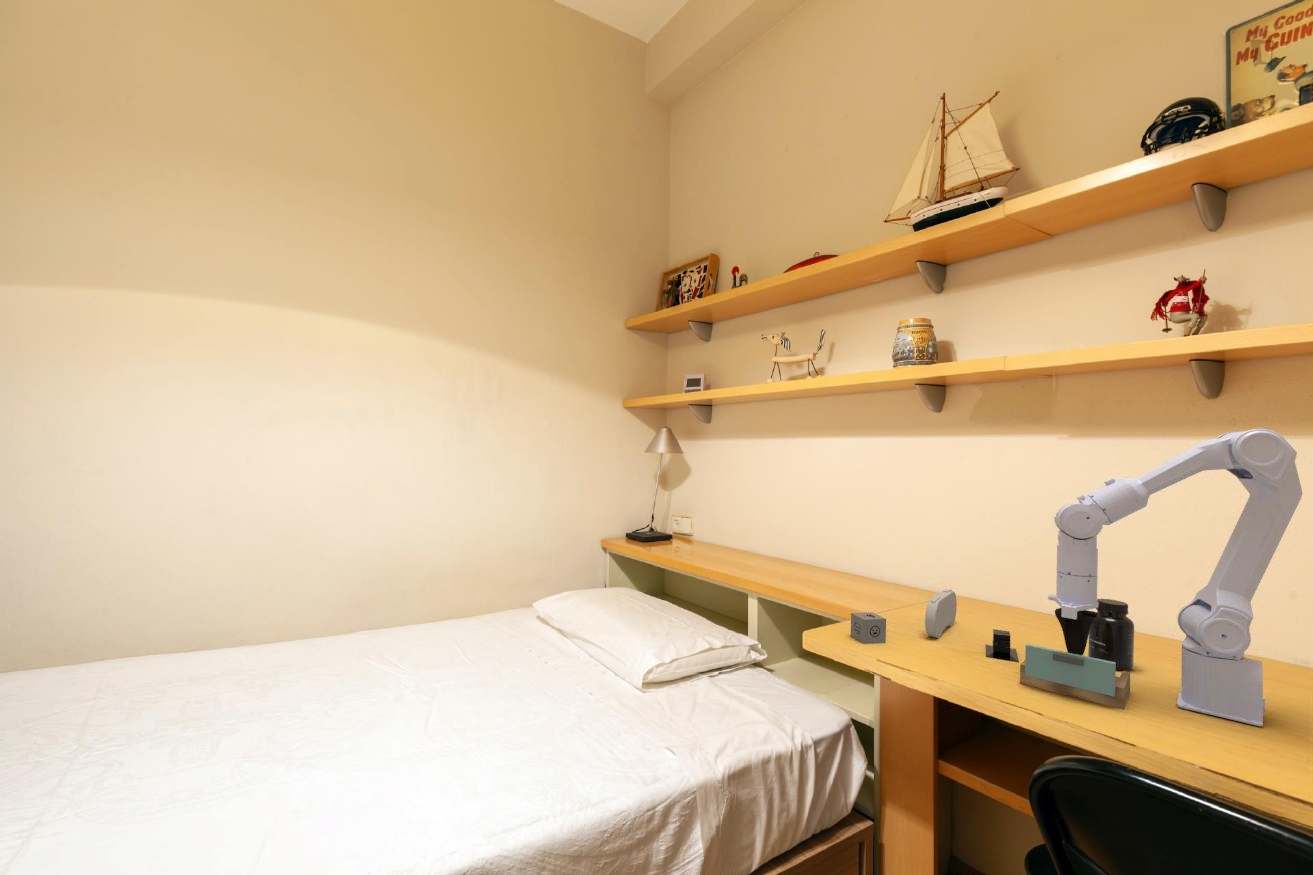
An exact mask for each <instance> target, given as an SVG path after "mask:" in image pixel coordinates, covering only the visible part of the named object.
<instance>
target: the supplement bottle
mask: <svg viewBox="0 0 1313 875" xmlns="http://www.w3.org/2000/svg"><path fill="white" fill-rule="evenodd" d="M1097 602H1098V603H1099V607H1098V608H1095V610H1097V611H1096V612H1097V613H1098V616H1097V617H1096V619H1095V621H1094V622H1093V624H1092V626H1091V629H1090V632H1089V635H1088V649H1087V650H1088V652H1087V654H1088V656H1087V657H1092V658H1097V659H1101V660H1106V661H1111V662H1116V671H1119V672H1122V671H1126V672H1130V671H1131V670H1132V669H1133V668H1134V658H1135V657H1134V652H1135V650H1134V649H1135V623H1134V621H1133V620H1132V619H1130V618H1129V617H1128V615H1129V604H1128V603H1127V602H1124V601H1121V600H1116V599H1110V598H1109V599H1108V598H1097Z"/></svg>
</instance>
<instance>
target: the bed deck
mask: <svg viewBox="0 0 1313 875" xmlns="http://www.w3.org/2000/svg"><path fill="white" fill-rule="evenodd" d="M1019 666H1020V667H1019V669H1020V671H1019V684H1021V685H1025V686H1028V687H1033V688H1037V689H1039V690H1040V689H1041V690H1044V691H1045V690H1046V691H1050V692H1052V693H1058V694H1062V695H1065V696H1068V697H1074V698H1077V699H1081V700H1085V701H1089V702H1092V703H1097V704H1100V705H1105V706H1109V707H1113V708H1116V709H1117V708H1118V709H1122V710H1124V709H1125V707H1126V703H1127V700H1128V698H1129V696H1130V693H1131V672H1130V671H1121V674H1120V675H1119V676H1116V677H1115V697H1114V696H1110V695H1106V694H1102V693H1097V692H1093V691H1089V690H1085V689H1081V688H1077V687H1072V686H1068V685H1064V684H1060V683H1056V682H1052V681H1047V680H1043V679H1039V678H1035V677H1031V676H1027V675H1025V659H1024V660H1023V661H1022V662H1021V663H1020V665H1019Z"/></svg>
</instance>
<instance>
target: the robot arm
mask: <svg viewBox="0 0 1313 875" xmlns="http://www.w3.org/2000/svg"><path fill="white" fill-rule="evenodd" d="M1297 454H1298V452H1297V450H1296V449H1295V448H1294V447H1293V446H1292V445H1291V444H1290V443H1289V442H1288V440H1286V438H1285V437H1284V436H1282V435H1281V434H1280V433H1278V432H1276V431H1275V430H1272V429H1266V428H1252V429H1249V430H1243V431H1239V430H1235V431H1228V432H1225V433H1222V434H1220V435H1219V436H1217V437H1216V438H1211V439H1209V440H1205V441H1203V442H1201V443H1199V444H1196V445H1194V446H1191V447H1189V448H1188V449H1186V450H1184V451H1183V452H1181V453H1179V454H1178V455H1175V456H1174V457H1172V458H1170V459H1169V460H1167V461H1165V462H1163V463H1161V464H1160V465H1158V466H1157V467H1154V468H1152V469H1151V470H1149V471H1147V472H1145V473H1144V474H1142V475H1140V476H1138V477H1137V478H1128V477H1121V476H1120V477H1118V478H1116V479H1115V478H1112V477H1110V478H1109V479H1106V480H1104V484H1105V485H1103V486H1102V487H1099V488H1097V489H1096V490H1094V491H1092V492H1090V493H1088V494H1087V495H1084V494H1080V495H1078V496H1076V499H1077V501H1078V502H1069V503H1066V504H1063V505H1062V506H1060V507H1059V509H1058V510H1057V512H1056V514H1055V516H1054V517H1053V519H1054V520H1053V521H1054V523H1055V526H1056V527H1057V528H1058V529H1059V530H1058V535H1057V541H1058V542H1057V546H1056V590H1055V591H1056V594H1048V596H1047V600H1048V601H1053V602H1055V603H1056V604H1058V606H1059V607H1058V608H1056V609H1055V610H1054V615H1055V617H1056V618H1057V621H1058V623H1059V624H1060V627H1061V631H1062V633H1063V638H1064V644H1065V647H1066V651H1067V652H1068V653H1073V654H1077V655H1082V656H1084V654H1085V651H1086V648H1087V645H1088V641H1089V632H1090V629H1091V626H1092V624H1093V622H1094V621H1095V619H1096V617H1097V616H1098V613H1097V611H1092V610H1093V609H1096V608H1098V607H1099V603H1098V602H1097V599H1098V560H1099V559H1098V557H1099V556H1098V555H1099V554H1098V553H1099V552H1098V548H1097V547H1098V546H1097V544H1098V542H1097V540H1098V539H1097V538H1098V535H1099V534H1100V532H1102V530H1103V526H1110V525H1111V524H1114V523H1117V522H1118V521H1120V520H1122V519H1124V518H1127V517H1129V516H1130V515H1132V514H1134V513H1136V512H1138V511H1140V510H1142V509H1144V508H1146V507H1147V506H1148V503H1149V498H1150V496H1151V495H1153V494H1155V493H1157V492H1159V491H1160V492H1161V491H1162V490H1165V489H1166V488H1168V487H1170V486H1172V485H1175V484H1178V483H1179V482H1181V481H1183V480H1186V479H1187V478H1190V477H1192V476H1194V475H1196V474H1199V473H1201V472H1205V471H1216V470H1217V471H1219V470H1226V471H1228V472H1229V473H1230V474H1232V475H1233V476H1234V477H1236V478H1237V480H1238V481H1239V482H1240V483H1241V485H1243V487H1244V488H1245V490H1246V491H1247V492H1248V494H1249V497H1248V499H1247V501H1246V503H1245V505H1244V507H1243V510H1242V511H1241V513H1240V515H1239V517H1238V520H1237V522H1236V524H1235V525H1234V528H1233V530H1232V532H1231V534H1230V537H1229V539H1228V541H1227V543H1226V545H1225V547H1224V549H1223V551H1222V553H1221V556H1220V558H1219V559H1218V561H1217V564H1216V566H1215V568H1214V570H1213V572H1212V575H1211V577H1210V579H1209V581H1208V583H1207V584H1206V585H1205V586H1204V587H1203V588H1202V589H1200V590H1199V591H1197V593H1196V594H1195V596H1194V598H1193V599H1192V601H1191V602H1190V603H1188V604H1186V605H1184V607H1182V608H1181V609H1180V610H1179V612H1178V614H1177V623H1178V624H1177V625H1178V627H1179V628H1180V630H1181V631H1182V632H1183V633H1184V634H1185V637H1184V639H1183V640H1182V641H1181V665H1180V666H1181V680H1180V681H1181V682H1180V683H1181V684H1180V686H1181V688H1180V690H1179V691H1178V695H1177V701H1176V702H1177V703H1176V706H1177V707H1178V708H1180V709H1184V710H1185V709H1186V710H1189V711H1193V712H1198V713H1201V714H1205V715H1210V716H1215V717H1219V718H1222V719H1227V720H1232V721H1235V722H1239V723H1244V724H1249V725H1253V726H1256V727H1264V723H1263V722H1264V716H1263V714H1264V712H1266V699H1265V698H1264V677H1263V676H1264V674H1263V671H1264V670H1263V661H1261V660H1258V659H1254V658H1250V657H1247V656H1245V652H1246V651H1247V650H1248V649H1249V647H1250V646H1251V641H1252V640H1251V639H1252V636H1251V632H1250V631H1251V630H1250V628H1251V624H1252V622H1253V619H1254V613H1253V607H1252V603H1251V602H1252V599H1253V597H1254V595H1255V594H1256V591H1257V589H1258V587H1259V585H1260V583H1261V582H1262V580H1263V576H1264V575H1265V573H1266V572H1267V569H1268V567H1269V564H1270V563H1271V561H1272V558H1273V557H1274V554H1275V552H1277V548H1278V546H1279V544H1280V542H1281V540H1282V538H1283V536H1284V534H1285V532H1286V530H1287V528H1288V526H1289V524H1290V522H1291V520H1292V518H1293V516H1294V514H1295V512H1296V510H1297V508H1298V506H1299V503H1300V501H1301V500H1302V496H1303V488H1302V485H1301V481H1300V476H1299V473H1298V469H1297V463H1296V459H1297Z"/></svg>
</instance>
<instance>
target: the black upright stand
mask: <svg viewBox="0 0 1313 875" xmlns="http://www.w3.org/2000/svg"><path fill="white" fill-rule="evenodd" d="M985 658H988V659H994V660H1001V661H1007V662H1013V663H1017V664H1018V663H1020V660H1019V655H1018V652H1017V648H1012V647H1011V633H1010V631H1009V630H1002V629H995V628H993V629H992V644H988V643H986V644H985Z"/></svg>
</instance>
